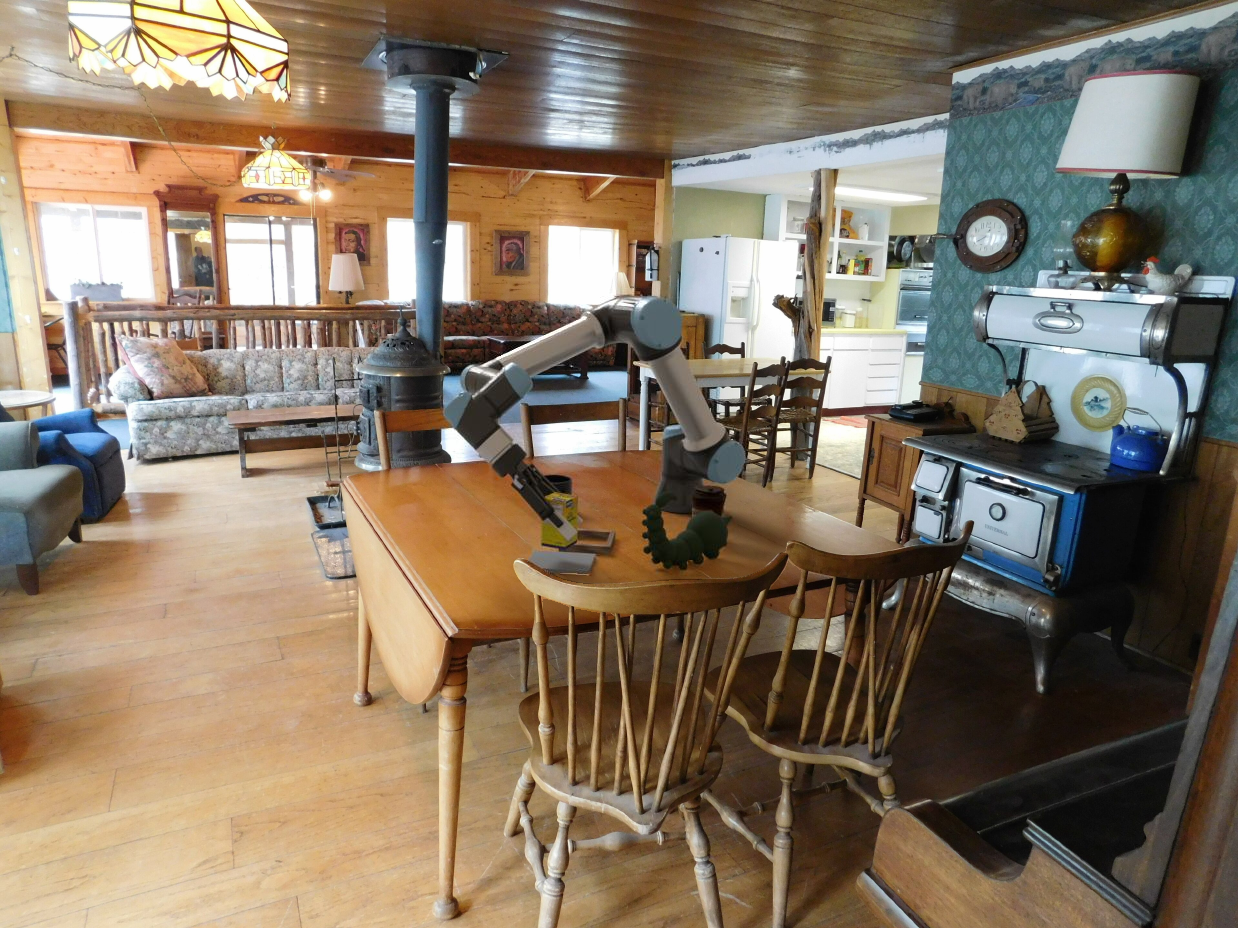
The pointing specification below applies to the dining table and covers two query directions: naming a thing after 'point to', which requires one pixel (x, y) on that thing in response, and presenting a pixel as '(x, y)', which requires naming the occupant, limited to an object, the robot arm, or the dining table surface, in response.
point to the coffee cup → (708, 500)
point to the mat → (563, 561)
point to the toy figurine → (683, 536)
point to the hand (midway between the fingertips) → (575, 530)
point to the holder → (593, 548)
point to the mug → (561, 483)
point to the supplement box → (569, 511)
